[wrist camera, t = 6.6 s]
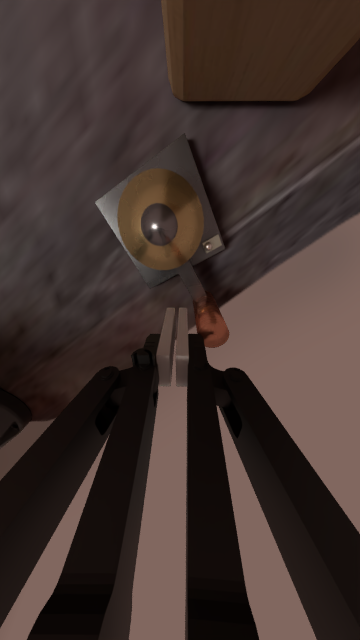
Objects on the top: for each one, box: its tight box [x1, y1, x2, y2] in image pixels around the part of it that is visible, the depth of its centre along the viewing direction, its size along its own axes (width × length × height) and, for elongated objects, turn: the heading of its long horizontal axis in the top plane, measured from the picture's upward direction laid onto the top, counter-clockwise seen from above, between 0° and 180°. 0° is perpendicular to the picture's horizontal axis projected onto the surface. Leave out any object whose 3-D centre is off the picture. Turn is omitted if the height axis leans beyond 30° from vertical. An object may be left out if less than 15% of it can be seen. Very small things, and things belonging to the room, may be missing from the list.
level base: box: [95, 133, 225, 289], centre depth 15 cm, size 9×9×2 cm
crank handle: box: [117, 168, 229, 348], centre depth 13 cm, size 13×7×7 cm, turn 30°
